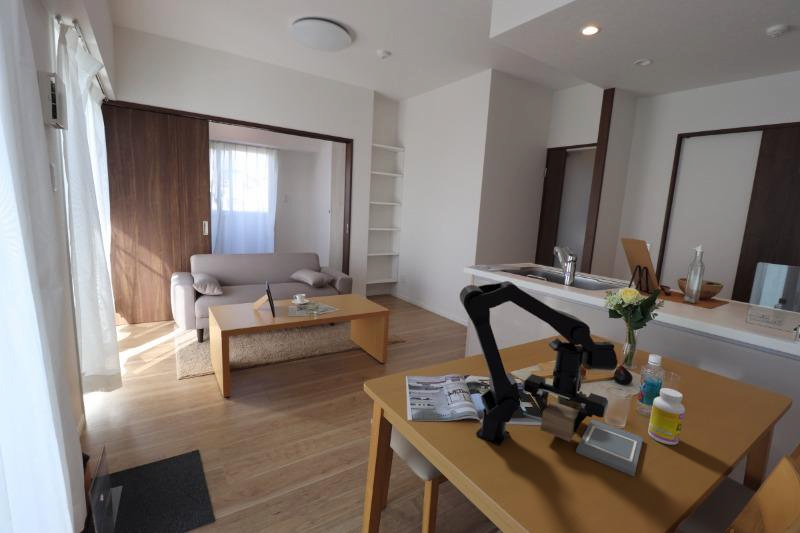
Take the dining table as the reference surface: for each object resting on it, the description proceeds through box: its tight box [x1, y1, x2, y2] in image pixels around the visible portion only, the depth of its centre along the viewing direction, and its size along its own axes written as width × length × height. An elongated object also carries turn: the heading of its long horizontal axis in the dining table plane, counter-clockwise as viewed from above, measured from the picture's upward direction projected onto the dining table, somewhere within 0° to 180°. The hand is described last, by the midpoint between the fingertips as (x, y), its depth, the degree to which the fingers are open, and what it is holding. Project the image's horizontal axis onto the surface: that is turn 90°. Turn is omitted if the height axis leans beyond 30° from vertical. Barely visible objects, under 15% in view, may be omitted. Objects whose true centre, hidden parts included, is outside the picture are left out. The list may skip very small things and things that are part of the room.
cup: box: [557, 391, 587, 410], centre depth 102 cm, size 8×7×8 cm
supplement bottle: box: [647, 387, 686, 446], centre depth 96 cm, size 7×7×13 cm
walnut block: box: [540, 400, 579, 443], centre depth 93 cm, size 7×7×5 cm
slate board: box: [575, 419, 644, 477], centre depth 92 cm, size 17×12×1 cm
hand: (559, 425), depth 94 cm, fingers closed on walnut block, 7 cm apart
